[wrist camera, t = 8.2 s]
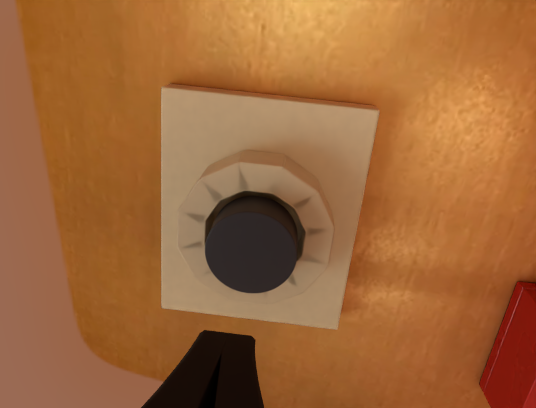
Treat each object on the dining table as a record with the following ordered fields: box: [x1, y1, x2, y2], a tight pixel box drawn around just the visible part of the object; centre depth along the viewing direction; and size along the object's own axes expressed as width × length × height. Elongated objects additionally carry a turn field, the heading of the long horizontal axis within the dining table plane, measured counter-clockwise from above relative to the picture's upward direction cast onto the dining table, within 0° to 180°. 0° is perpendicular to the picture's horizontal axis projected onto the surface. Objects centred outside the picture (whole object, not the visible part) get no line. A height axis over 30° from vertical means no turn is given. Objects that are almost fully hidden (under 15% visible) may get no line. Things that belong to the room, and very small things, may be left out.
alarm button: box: [205, 195, 298, 293], centre depth 17 cm, size 4×4×2 cm
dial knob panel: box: [161, 84, 380, 329], centre depth 19 cm, size 11×9×3 cm
